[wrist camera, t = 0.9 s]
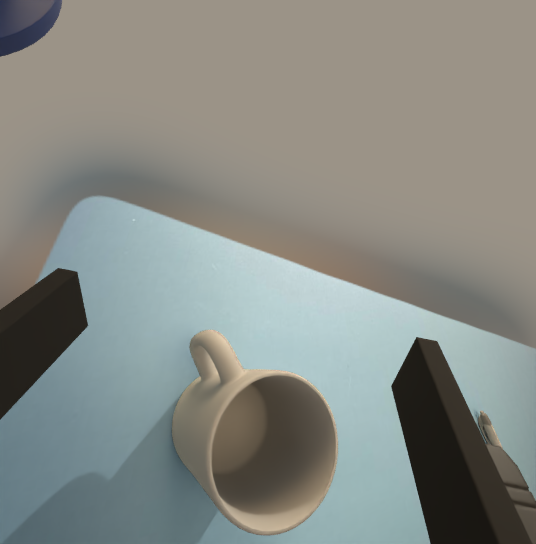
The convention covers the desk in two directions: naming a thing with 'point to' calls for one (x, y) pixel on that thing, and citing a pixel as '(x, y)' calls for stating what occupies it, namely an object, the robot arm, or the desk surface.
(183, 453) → the mug
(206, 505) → the desk surface
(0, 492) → the desk surface
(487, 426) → the pen
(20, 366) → the robot arm
